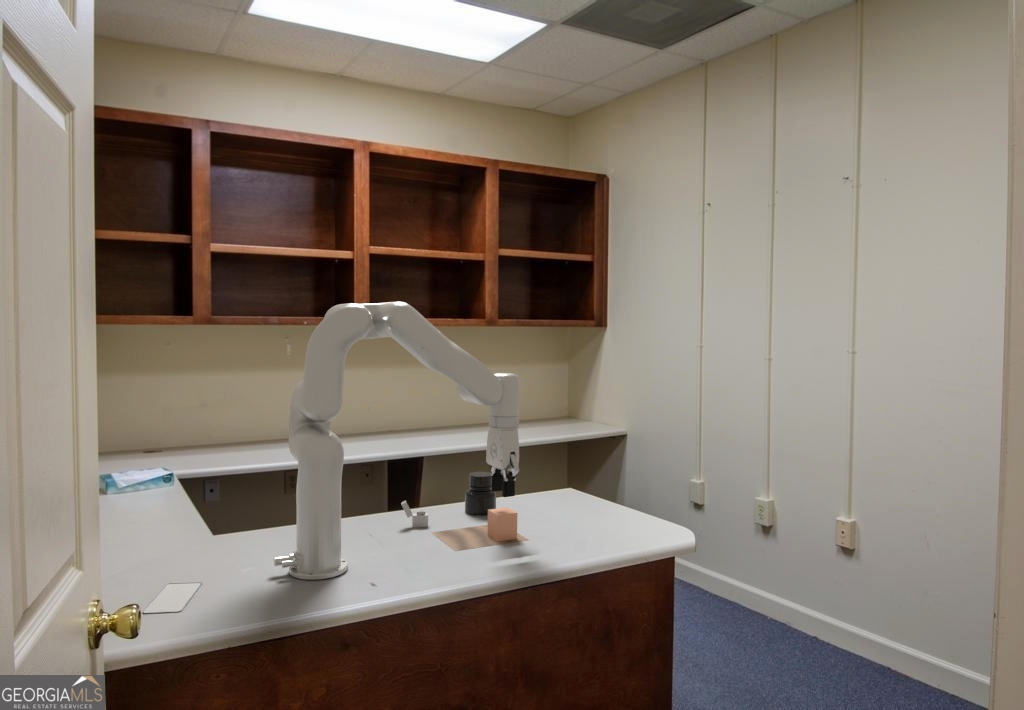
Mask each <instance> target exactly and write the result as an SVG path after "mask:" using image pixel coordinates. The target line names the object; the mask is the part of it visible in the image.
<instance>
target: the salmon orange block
mask: <svg viewBox="0 0 1024 710" xmlns="http://www.w3.org/2000/svg"><path fill="white" fill-rule="evenodd" d="M487 525H488V532H487V535H488V536H489V537H491V538H492V539H494V540H495V541H504V540H511V539H517V533H518V512H517V511H515V510H513V509H511V508H509V507H508V506H507V507H499V508H497V507H496V509H489V510H488V515H487Z"/></svg>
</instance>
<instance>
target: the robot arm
mask: <svg viewBox="0 0 1024 710" xmlns="http://www.w3.org/2000/svg"><path fill="white" fill-rule="evenodd" d="M381 338H383V339H384V338H391V339H393V340H394V341H395V342H397V344H399V345H400V346H401V347H402V348H404V349H405V350H406V351H407V352H408V353H409V354H410V355H412V356H413V357H414V358H415V360H418V362H419V363H420V364H422V365H423V366H425V367H426V368H427V369H429V370H431V371H432V372H435V373H437V374H441V375H443V376H445V377H446V378H448V379H450V380H451V381H453V382H455V383H456V392H457V394H458V396H459V397H460V399H462V400H463V401H465V402H467V403H470V404H475V405H479V406H483V407H488V408H489V409H488V431H487V432H488V433H487V437H486V438H487V439H486V449H485V450H486V454H485V456H486V457H485V463H487V465H489V467H490V469H491V470H490V473H491V475H492V491H493V492H495V493H496V492H501V491H502V493H501V494H502V497H503V498H508V497H509V498H510V497H514V496H515V495H516V494H515V492H516V489H515V488H516V480H517V476H518V473H519V472H520V468H519V467H520V466H519V463H520V441H519V439H520V438H519V431H518V430H519V429H520V425H519V424H520V377H519V375H517V374H515V373H510V372H509V373H508V372H498V373H494V372H492V371H491V370H490V369H489V368H488V367H487V366H486V365H484V364H483V362H481V361H480V360H478V358H476V357H475V356H473V355H472V354H470V353H469V352H467V351H466V350H465V349H464V348H462V347H460V346H459V345H458V344H456V343H455V342H454V341H453V340H451V339H449V338H448V337H447V336H446V335H445V334H443V333H442V332H441V331H440V330H439V329H438V328H437V327H435V326H434V325H433V324H432V323H431V322H430V321H429V320H428V319H427V318H425V317H424V315H422V314H421V313H420V312H419V311H418V310H417V309H416V308H415V307H413V305H412V306H411V304H409V303H407V302H404V301H388V302H378V303H376V302H375V303H357V302H356V303H353V302H349V303H340V304H336V305H334V306H331V308H329V309H328V310H327V311H326V313H325V315H324V317H323V319H322V320H321V321H320V323H318V325H317V326H316V327H315V329H314V330H313V332H312V333H311V335H310V337H309V340H308V342H307V346H306V349H305V350H306V351H305V357H304V358H305V361H304V367H303V379H301V380H300V381H299V382H298V383H297V384H296V385H295V387H294V388H293V390H292V394H291V398H290V405H289V406H290V407H289V421H288V422H289V423H288V449H289V452H290V454H291V456H292V457H293V458H294V460H296V461H297V463H298V465H297V475H296V477H297V479H296V494H295V499H296V500H295V501H296V548H293V549H292V550H293V551H292V553H288V555H284V556H283V555H281V556H274V557H273V564H274V565H273V566H274V567H278V566H281V568H282V569H285V568H288V571H289V575H290V576H292V577H293V578H296V579H299V580H307V581H308V580H309V581H310V580H311V581H315V580H316V581H318V580H325V579H326V580H327V579H330V578H335V577H338V576H340V575H342V574H344V573H346V572H347V570H348V569H349V561H347V559H345V558H343V557H342V476H343V468H344V461H345V451H344V446H343V443H342V440H341V439H340V437H338V435H337V434H336V433H334V432H333V431H332V429H331V428H332V420H334V419H335V418H337V417H338V416H339V414H340V413H341V411H342V408H343V397H344V396H343V395H344V378H345V377H344V375H345V367H346V365H345V364H346V359H347V355H348V352H349V350H350V348H351V347H352V346H353V345H354V344H356V343H357V342H358V341H360V340H368V339H369V340H371V339H381Z"/></svg>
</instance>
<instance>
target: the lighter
mask: <svg viewBox="0 0 1024 710" xmlns="http://www.w3.org/2000/svg"><path fill="white" fill-rule="evenodd" d="M400 504H401V507H402V509H403V511H404V514H405V515H406V517H407V518H411V517H412V520H411V521H412V522H411V523H412V524H411V525H412V527H411V528H429V513H427V512H426V511H425V510H416V513H413V511H412V510H411V508H410V506H409V503H407V500H403V501H402V502H401V503H400Z"/></svg>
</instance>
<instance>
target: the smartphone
mask: <svg viewBox="0 0 1024 710" xmlns="http://www.w3.org/2000/svg"><path fill="white" fill-rule="evenodd" d="M202 585H203V583H202V582H201V581H200V582H198V581H197V582H178V583H176V582H175V583H167V584H166V585H165V586H164V587H163V588H162V590H161V591H159V593H158V594H157V595H156V596H155V598H153V599H152V601H150V603H149V604H148V605H147V606H146V608H145V609H144V610H143V611H142V614H143V615H155V614H157V615H159V614H174V613H175V614H179V613H181V612H183V610H184V609H185V607H187V605H188V603H189V602H190V601H191V600H192V598H193V597H194V596H195V594H196V593H197V592H198V591H199V588H201V586H202Z"/></svg>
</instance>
